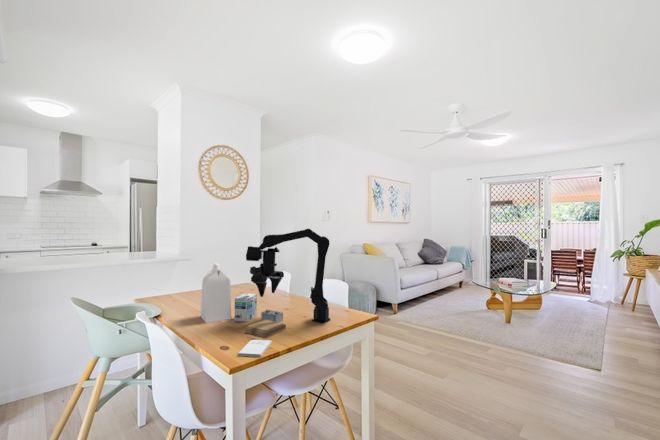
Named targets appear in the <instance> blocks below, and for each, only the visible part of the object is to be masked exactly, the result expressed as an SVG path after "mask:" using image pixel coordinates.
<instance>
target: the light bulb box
mask: <svg viewBox="0 0 660 440" xmlns="http://www.w3.org/2000/svg"><path fill="white" fill-rule="evenodd" d="M257 315H258V294H257V293H243V294H240V295H239V296H237V297H235V298H234V322H245V323H247V322H249V321H251V320H252V319H254V318H255V317H257Z"/></svg>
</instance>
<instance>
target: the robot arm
mask: <svg viewBox="0 0 660 440" xmlns="http://www.w3.org/2000/svg"><path fill="white" fill-rule="evenodd" d="M303 238H304V239H305V238H308V239H310V240H312V241H313V242H314V243H316V244H317V245H316V246H317V263H316V264H317V265H316V273H315V282H314V287H313V286H310V295H309V299H311V300H310V301H311V303H312V305H313V306H314V309H313V319H312V322H317V323H322V324H325V323H327V322H329V321H330V320H331V317H330V313H329V312H330V307H329V302H328V299H326V298H325V297H324V288H323V287H324V286H323V285H324V277H325V265H326V259H327V258H326V257H327V254H328V251H329V247H330V240H329V238H328V237H326V236H321V235H320V234H318V233H316V232H315V231H314V230H312V229H311V228H306V229H302V230H297V231H293V232H287V233H283V234H281V233H279V234H268V235H265V236H264V237H263V238H262V242H261V244H260V245H259V246H251V245H250V246H247V251H246V254H245V260H246V262H259V261H260V260H262V263H260V264H259V266H258V267H256V266H251V267H250V269H249V273H250V274H251V275H252V276H251V277H250V282H251V283H253V284H255V286H256V287H257V289H258V294H259V297H260V298H263V297H264V294H265V292H266V287H267V285H268V282H267V281H268V279H269V280H270V283H271V284H270V285H271V293H272V294H275V292H276V290H277V288H278V286H279V284H280V282H281V280H283V278H284V276H285V273H284V272H283V270H276V267H277V265H278V263H276V253H280V252H281V250H280V249H278V247H277V245H279V244H282V243H286V242H290V241H293V240H294V241H295V240H298V239H300V240H301V239H303ZM274 246H275V247H274ZM272 247H274V248H272ZM266 248H267V249H266Z"/></svg>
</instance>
